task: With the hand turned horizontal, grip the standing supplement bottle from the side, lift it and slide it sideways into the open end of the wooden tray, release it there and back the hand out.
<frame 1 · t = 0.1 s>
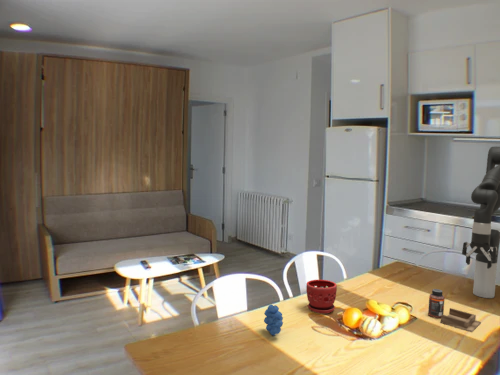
hand: (478, 266, 192), 17 cm above the table, tool pointing down, fingers open, 8 cm apart
wooden tray: (460, 323, 170), on the table
supplement bottle: (435, 316, 177), on the table
plant pot: (320, 310, 181), on the table
grapes: (275, 335, 156), on the table
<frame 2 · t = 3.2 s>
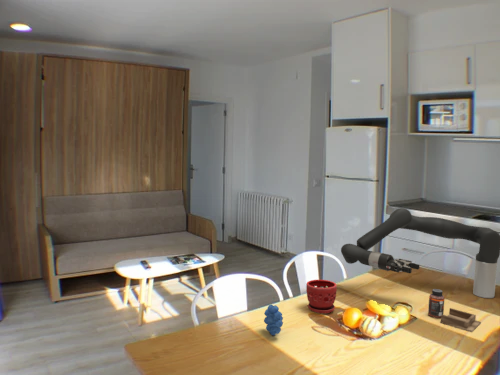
hand: (415, 269, 182), 18 cm above the table, tool horizontal, fingers open, 8 cm apart
nothing on the table moved.
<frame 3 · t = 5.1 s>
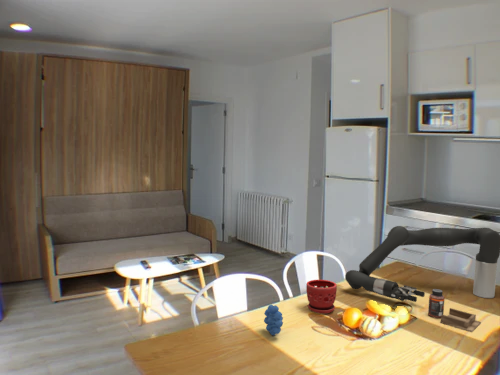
hand: (420, 297, 181), 6 cm above the table, tool horizontal, fingers open, 8 cm apart
nothing on the table moved.
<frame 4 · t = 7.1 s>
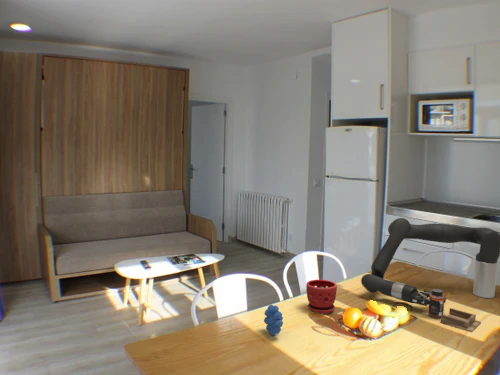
hand: (442, 302, 175), 7 cm above the table, tool horizontal, fingers closed on supplement bottle, 6 cm apart
supplement bottle: (435, 316, 177), on the table, touching gripper
everything else where it was.
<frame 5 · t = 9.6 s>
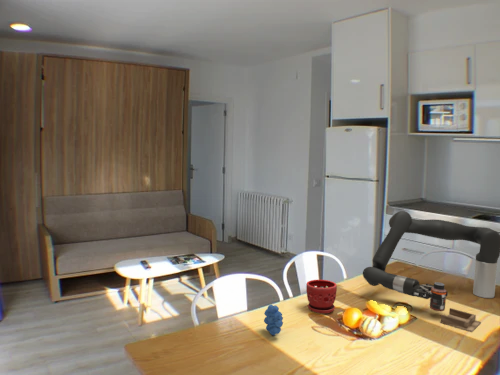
hand: (444, 296, 174), 10 cm above the table, tool horizontal, fingers closed on supplement bottle, 6 cm apart
supplement bottle: (437, 309, 176), point 3 cm above the table, touching gripper
everything else where it was.
when the fingers open (8 cm above the table, at t = 11.8 s): supplement bottle stays where it is, resting on wooden tray.
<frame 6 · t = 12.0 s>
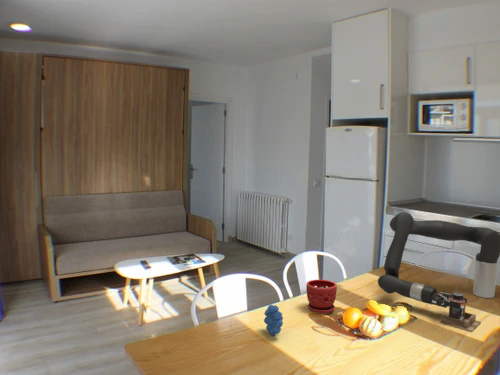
hand: (463, 303, 169), 8 cm above the table, tool horizontal, fingers open, 7 cm apart
supplement bottle: (456, 320, 171), resting on wooden tray
everything else where it was.
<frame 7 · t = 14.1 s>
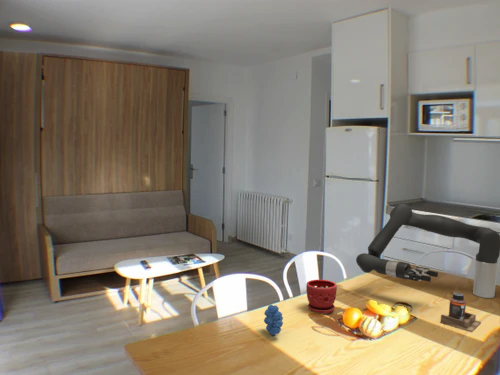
hand: (434, 276, 179), 16 cm above the table, tool horizontal, fingers open, 8 cm apart
nothing on the table moved.
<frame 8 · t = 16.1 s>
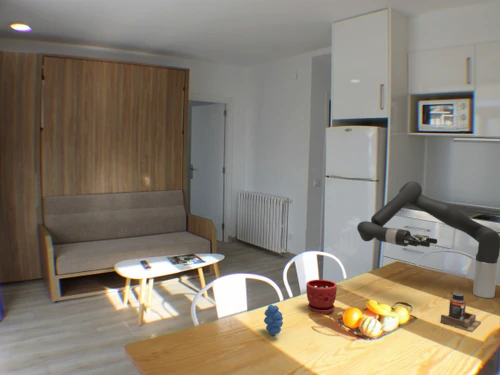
hand: (433, 243, 182), 30 cm above the table, tool horizontal, fingers open, 8 cm apart
nothing on the table moved.
at the end: supplement bottle inside the target area on the wooden tray (0.4 cm from its centre), point 0.4 cm above the wooden tray's base; supplement bottle tilted 0°; the gripper is holding nothing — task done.
